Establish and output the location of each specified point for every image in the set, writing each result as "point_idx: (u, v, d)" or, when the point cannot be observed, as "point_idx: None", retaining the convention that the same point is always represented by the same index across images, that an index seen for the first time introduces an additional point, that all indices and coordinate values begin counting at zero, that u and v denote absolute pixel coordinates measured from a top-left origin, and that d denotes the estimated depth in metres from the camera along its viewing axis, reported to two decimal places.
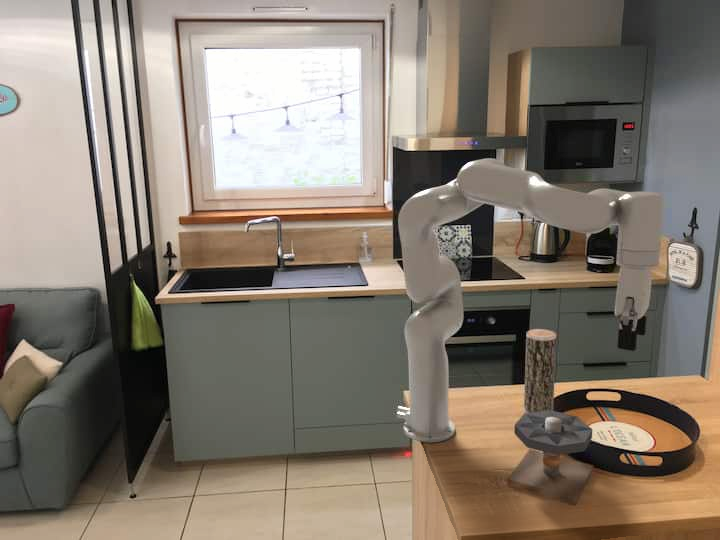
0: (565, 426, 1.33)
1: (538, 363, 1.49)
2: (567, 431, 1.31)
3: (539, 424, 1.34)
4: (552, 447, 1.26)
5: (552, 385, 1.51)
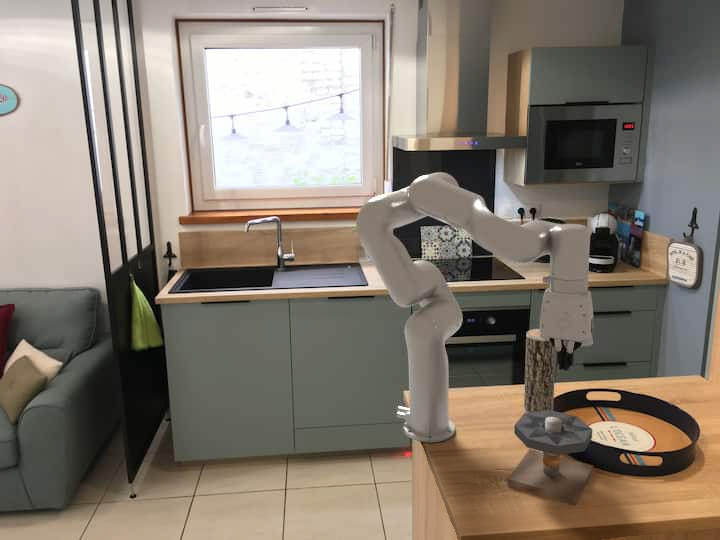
0: (565, 426, 1.33)
1: (538, 363, 1.49)
2: (567, 431, 1.31)
3: (539, 424, 1.34)
4: (552, 447, 1.26)
5: (552, 385, 1.51)
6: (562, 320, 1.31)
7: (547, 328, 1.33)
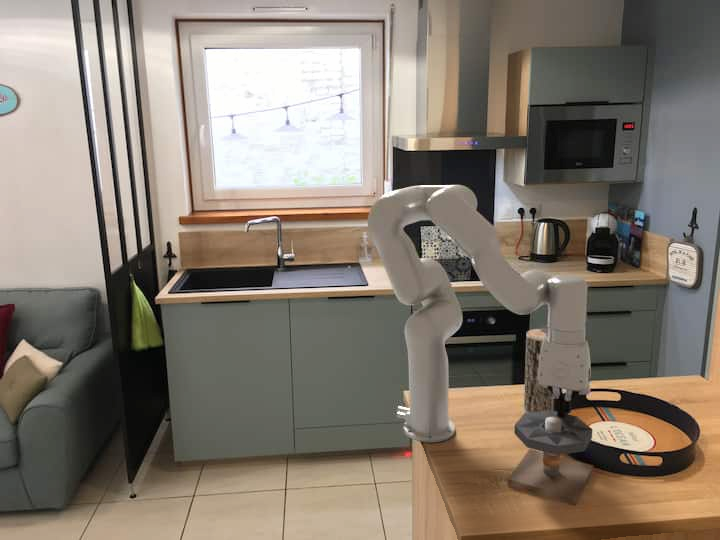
0: (565, 426, 1.33)
1: (538, 363, 1.49)
2: (567, 431, 1.31)
3: (539, 424, 1.34)
4: (552, 447, 1.26)
5: None
6: (560, 369, 1.33)
7: (545, 376, 1.36)
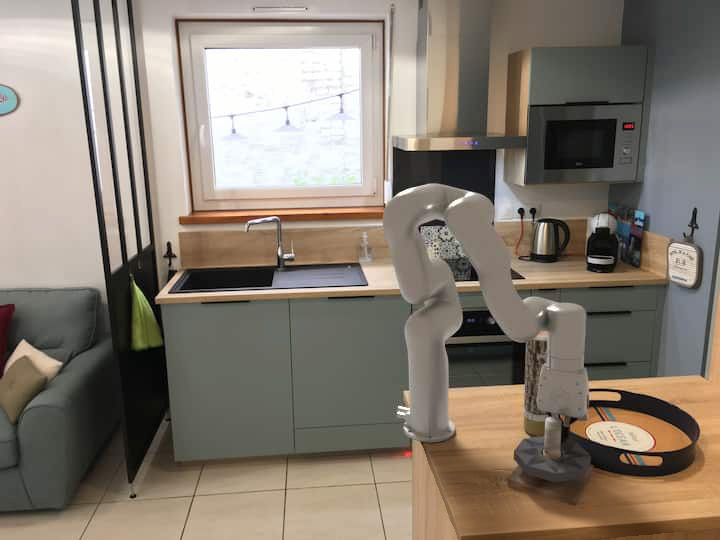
0: (564, 452, 1.35)
1: (538, 363, 1.49)
2: (566, 458, 1.32)
3: (538, 450, 1.36)
4: (551, 474, 1.28)
5: None
6: (558, 396, 1.35)
7: (544, 403, 1.37)
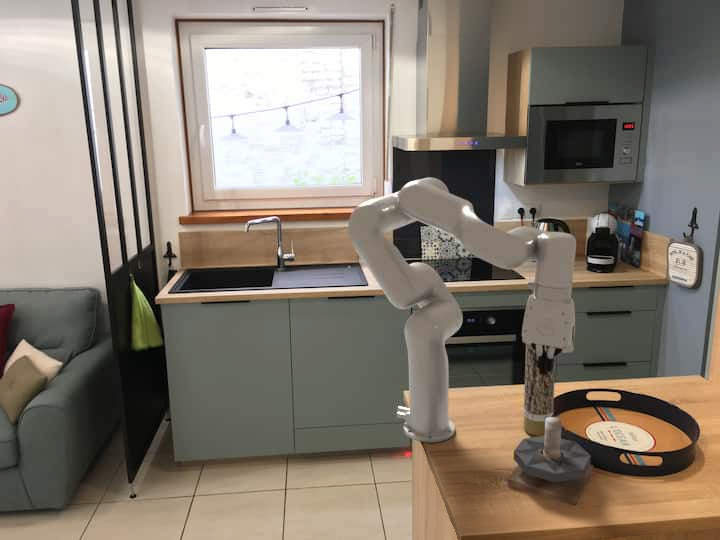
0: (564, 452, 1.35)
1: None
2: (566, 458, 1.32)
3: (538, 450, 1.36)
4: (551, 474, 1.28)
5: (552, 385, 1.51)
6: (544, 326, 1.33)
7: (529, 333, 1.35)
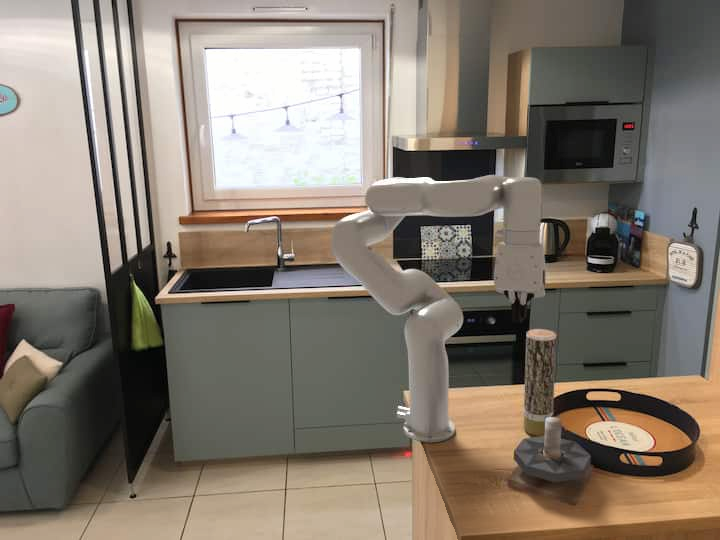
0: (564, 452, 1.35)
1: (538, 363, 1.49)
2: (566, 458, 1.32)
3: (538, 450, 1.36)
4: (551, 474, 1.28)
5: (552, 385, 1.51)
6: (514, 272, 1.34)
7: (501, 280, 1.36)
